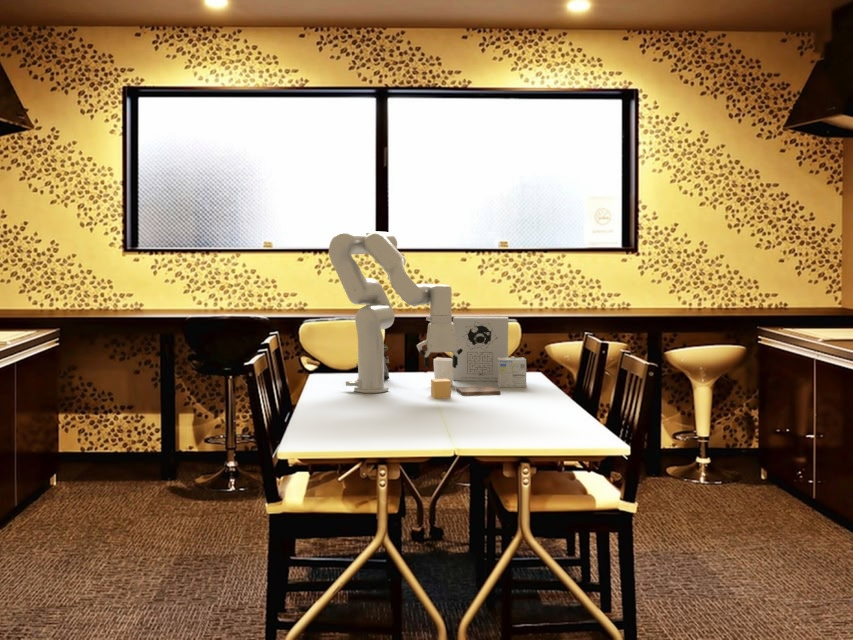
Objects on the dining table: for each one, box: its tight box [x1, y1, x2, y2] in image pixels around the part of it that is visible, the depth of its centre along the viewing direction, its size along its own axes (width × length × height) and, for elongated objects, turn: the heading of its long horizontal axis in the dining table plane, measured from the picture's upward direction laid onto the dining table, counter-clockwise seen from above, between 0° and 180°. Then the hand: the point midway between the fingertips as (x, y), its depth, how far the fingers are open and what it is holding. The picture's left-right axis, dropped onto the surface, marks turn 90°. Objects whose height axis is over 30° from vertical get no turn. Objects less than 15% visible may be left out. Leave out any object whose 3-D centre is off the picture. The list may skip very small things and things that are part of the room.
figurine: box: [355, 344, 390, 380], centre depth 367 cm, size 9×12×15 cm
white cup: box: [433, 357, 454, 386], centre depth 354 cm, size 8×8×10 cm
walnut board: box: [455, 385, 501, 396], centre depth 337 cm, size 14×11×1 cm
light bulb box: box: [497, 356, 527, 388], centre depth 351 cm, size 11×7×11 cm, turn 92°
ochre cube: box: [430, 378, 452, 399], centre depth 328 cm, size 6×6×6 cm
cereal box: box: [452, 315, 509, 382], centre depth 367 cm, size 22×8×25 cm, turn 84°
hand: (440, 367), depth 327 cm, fingers open, 9 cm apart
